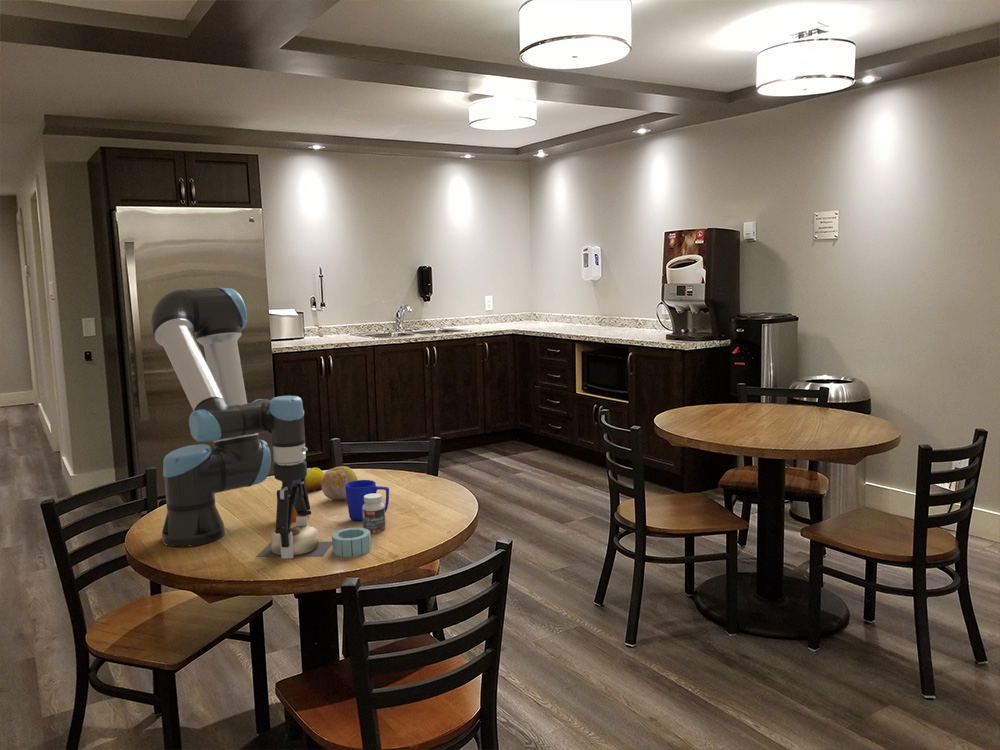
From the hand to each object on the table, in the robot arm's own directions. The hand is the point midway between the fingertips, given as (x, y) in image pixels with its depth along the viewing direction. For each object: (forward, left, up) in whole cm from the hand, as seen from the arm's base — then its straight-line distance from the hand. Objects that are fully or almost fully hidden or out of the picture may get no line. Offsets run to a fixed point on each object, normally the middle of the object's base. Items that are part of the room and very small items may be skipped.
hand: (295, 550), depth 189 cm
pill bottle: (+16, +14, -1) cm, 21 cm away
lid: (0, 0, +1) cm, 1 cm away
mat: (0, 0, -1) cm, 1 cm away
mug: (+12, +25, -1) cm, 28 cm away
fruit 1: (-15, +57, -1) cm, 59 cm away
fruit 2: (-1, +44, -1) cm, 44 cm away
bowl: (+14, -1, -1) cm, 14 cm away
